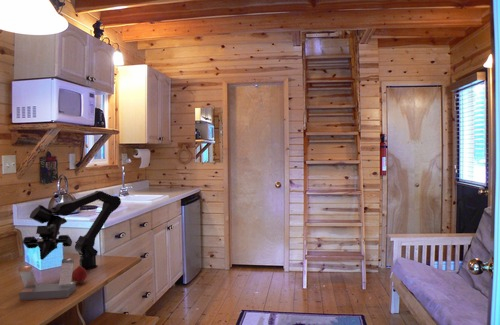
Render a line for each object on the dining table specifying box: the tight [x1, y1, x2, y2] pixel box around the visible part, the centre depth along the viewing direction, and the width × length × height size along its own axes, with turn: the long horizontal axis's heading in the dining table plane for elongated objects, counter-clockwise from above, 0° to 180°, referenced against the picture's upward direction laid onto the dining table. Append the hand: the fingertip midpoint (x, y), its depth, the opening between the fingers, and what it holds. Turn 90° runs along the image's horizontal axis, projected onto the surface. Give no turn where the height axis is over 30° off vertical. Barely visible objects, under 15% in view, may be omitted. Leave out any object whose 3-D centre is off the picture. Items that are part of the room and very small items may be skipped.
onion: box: [72, 264, 88, 284], centre depth 152 cm, size 6×6×8 cm
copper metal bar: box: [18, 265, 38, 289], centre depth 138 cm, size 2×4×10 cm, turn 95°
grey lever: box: [58, 258, 75, 285], centre depth 142 cm, size 2×4×10 cm, turn 94°
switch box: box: [18, 281, 77, 301], centre depth 140 cm, size 8×18×3 cm, turn 95°
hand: (41, 259), depth 148 cm, fingers closed
